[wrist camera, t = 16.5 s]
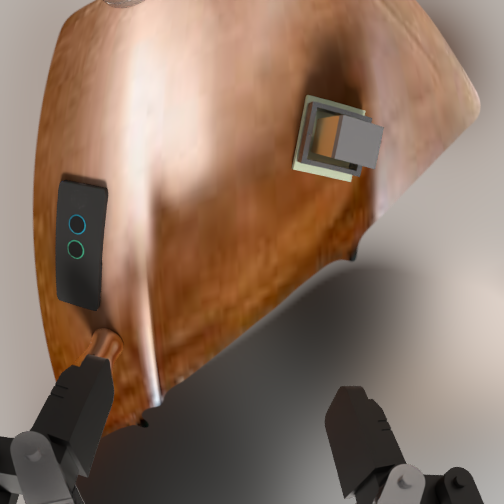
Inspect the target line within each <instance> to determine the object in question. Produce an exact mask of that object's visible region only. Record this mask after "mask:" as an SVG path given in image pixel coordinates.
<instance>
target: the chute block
mask: <svg viewBox="0 0 504 504" xmlns="http://www.w3.org/2000/svg"><path fill="white" fill-rule="evenodd" d="M383 129H384V127H381V126H378V125H375V124H372V123H369V122H366V121H363V120H359V119H356V118H353V117H349V116H346V115H339V116H332V117H326V118H319V119H317V124H316V129H315V134H314V139H313V144H312V149H311V152H312V153H316V154H320V155H323V156H327V157H331V158H334V159H338V160H342V161H346V162H350V163H354V164H358V165H361V166H365V167H369V168H372V169H375V167H376V162H377V158H378V153H379V149H380V144H381V139H382V134H383Z"/></svg>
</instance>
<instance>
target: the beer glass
mask: <svg viewBox="0 0 504 504" xmlns="http://www.w3.org/2000/svg"><path fill="white" fill-rule="evenodd" d="M123 348H124V344H123V341H122V339H121V338H120V337H119V336H118V335H117V334H116V333H115V332H113V331H112V330H109V329H105V328H100V329H97V330H96V331H95V332H94V333H93V336H92V339H91V342H90V345H89V346H88V348H87V349H86V350H85V351H84V352H83V353H82V354H81V355H80V356H79V357H78V358H77V360H76V361H75V362H74V363H73V364H72V365H75V366H79V367H80V365H81V364H82V362H83V360H84V358H85V357H86V355H87V354H90V355H94V356H98V357H102V358H107V359H109V361H110V367H111V373H112V375H113V369H114V364H115V361H116V359H117V358H118V357H119V355H120V354H121V353H122V351H123Z"/></svg>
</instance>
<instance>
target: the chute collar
mask: <svg viewBox="0 0 504 504" xmlns="http://www.w3.org/2000/svg"><path fill="white" fill-rule="evenodd" d="M316 111H321V112H325V113H329V114H333V115H336V116H339V115H346V116H349V117H353V118H356V119H359V120H363V121H366V122H369V123H371V121H372V118H370V117H367V116H364V115H361V114H357V113H354V112H351V111H347V110H344V109H341V108H337V107H333V106H330V105H326V104H322V103H318V102H314V101H313V102H310V103H308V104H307V109H306V114H305V120H304V125H303V130H302V135H301V140H300V145H299V150H298V155H297V160H296V161H297V162H300V163H302V164H307V165H312V166H316V167H321V168H325V169H330V170H334V171H338V172H342V173H346V174H350V175H354V176H358V177H360V174H361V170H362V166H361V165H358V164H354V163H349V168H345V167H341V166H337V165H333V164H329V163H325V162H320V161H316V160H311V159H307V157H308V152H309V147H310V142H311V137H312V132H313V127H314V122H315V116H316Z"/></svg>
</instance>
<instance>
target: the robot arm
mask: <svg viewBox="0 0 504 504" xmlns="http://www.w3.org/2000/svg"><path fill="white" fill-rule="evenodd" d="M103 1H104V2H105V3H107V4H108V5H110V6H112V7H116V8H125V7H130V6H133V5H136V4H138V3H141V2H142V1H144V0H103ZM113 398H114V386H113V380H112V373H111V367H110V361H109V359H107V358H102V357H98V356H94V355H90V354H87V355H86V357H85V358H84V360H83V362H82V364H81V365H80V367H79V366H75V365H71V366H70V367H69V368H68V369H66V370H65V371H64V372H62V373H61V375H60V377H59V379H58V380H57V382H56V385H55V386H54V387H53V389H52V391H51V395H49V396H48V398H47V400H46V402H45V404H44V406H43V408H42V410H41V412H40V413H39V415H38V417H37V419H36V421H35V423H34V425H33V427H32V428H31V430H30V431H26V432H22V433H20V434H18V435H17V436H16V437H15V438H7V437H0V504H16V503H17V500H18V496H19V494H22V495H23V497H24V500H25V503H26V504H84V502H83V500H82V498H81V496H80V494H79V491H78V489H77V487H76V485H75V482H76V479H77V476H78V474H79V475H82V476H85V477H88V475H89V472H90V469H91V465H92V462H93V459H94V456H95V453H96V449H97V447H98V444H99V440H100V438H101V435H102V432H103V429H104V426H105V423H106V420H107V417H108V414H109V412H110V409H111V406H112V403H113ZM325 428H326V432H327V435H328V439H329V443H330V447H331V450H332V454H333V458H334V462H335V465H336V469H337V472H338V477H339V480H340V484H341V488H342V492H343V496H344V499H347V498H353V497H356V501H357V503H356V504H484V503H483V501H482V499H481V496H480V493H479V491H478V489H477V486H476V484H475V482H474V480H473V477H472V476H471V474H470V473H469V472H468V471H467V470H465V469H464V468H461V467H454V468H451V469H450V470H449V471H448V472H446V473H445V474H444V475H424V474H423V473H422V472H421V471H420V470H419V469H418V468H417V467H415V466H413V465H409V464H407V463H406V462H405V460H404V457H403V455H402V453H401V450H400V448H399V446H398V443H397V441H396V439H395V437H394V434H393V432H392V431H391V427H390V425H389V423H388V422H387V419H386V416H385V414H384V412H383V410H382V408H381V407H380V406H379V405H378V404H377V403H376V402H375V401H374V400H373V399H368V397H367V395H366V393H365V390H364V389H363V388H362V387H361V386H342V387H340V388H339V390H338V391H337V393H336V395H335V397H334V399H333V401H332V403H331V405H330V407H329V409H328V411H327V413H326V416H325Z"/></svg>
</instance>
